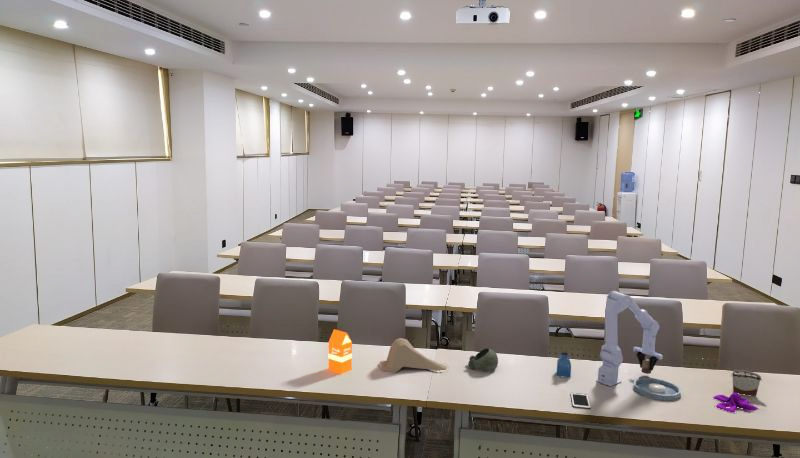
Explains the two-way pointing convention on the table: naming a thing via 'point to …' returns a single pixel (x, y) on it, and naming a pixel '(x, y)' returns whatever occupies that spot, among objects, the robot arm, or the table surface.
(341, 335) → the orange juice
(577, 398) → the cell phone
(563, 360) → the perfume bottle
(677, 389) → the round tray
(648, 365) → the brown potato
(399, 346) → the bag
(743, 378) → the food container
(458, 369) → the table surface
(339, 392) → the table surface
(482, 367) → the green round pot
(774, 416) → the table surface
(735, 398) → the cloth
